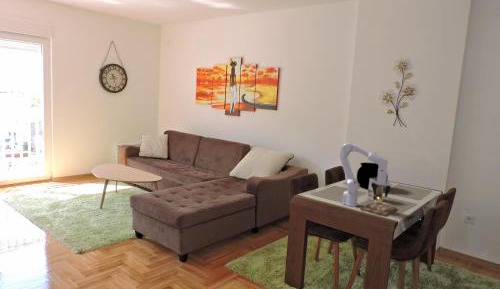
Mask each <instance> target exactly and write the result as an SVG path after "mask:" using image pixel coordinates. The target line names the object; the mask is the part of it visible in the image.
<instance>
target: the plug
mask: <svg viewBox="0 0 500 289" xmlns="http://www.w3.org/2000/svg"><path fill="white" fill-rule="evenodd" d="M383 200H384V197H383V195H382V196H378V197H377V204H380V205H382V202H383Z"/></svg>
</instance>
